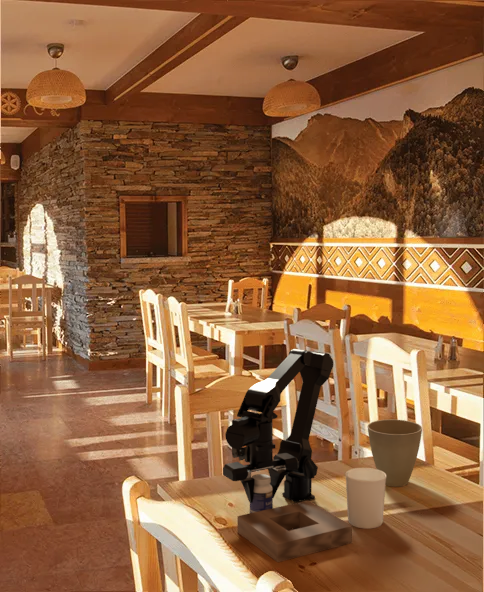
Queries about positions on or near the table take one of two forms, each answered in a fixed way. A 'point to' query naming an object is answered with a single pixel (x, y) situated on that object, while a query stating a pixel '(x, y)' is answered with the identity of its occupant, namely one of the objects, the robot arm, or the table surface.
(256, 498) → the pill bottle
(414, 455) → the plant pot
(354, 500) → the candle holder
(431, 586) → the table surface
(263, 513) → the well block
